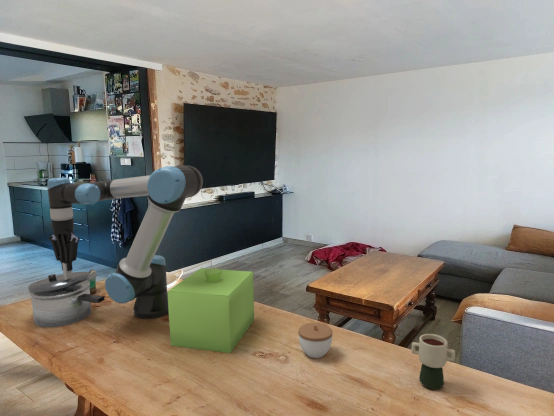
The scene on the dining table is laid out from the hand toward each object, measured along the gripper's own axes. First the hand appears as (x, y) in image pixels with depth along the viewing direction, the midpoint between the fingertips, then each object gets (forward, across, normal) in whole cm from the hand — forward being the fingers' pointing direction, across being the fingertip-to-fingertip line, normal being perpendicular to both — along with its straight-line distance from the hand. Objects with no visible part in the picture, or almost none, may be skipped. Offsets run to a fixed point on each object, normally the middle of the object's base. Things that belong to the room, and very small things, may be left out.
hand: (68, 278), depth 150 cm
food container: (+16, +12, -22) cm, 30 cm away
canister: (+16, -60, -5) cm, 63 cm away
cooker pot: (+16, 0, 0) cm, 16 cm away
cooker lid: (+2, +4, 0) cm, 5 cm away
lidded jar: (+16, -98, -1) cm, 99 cm away
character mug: (+16, -132, +6) cm, 133 cm away
